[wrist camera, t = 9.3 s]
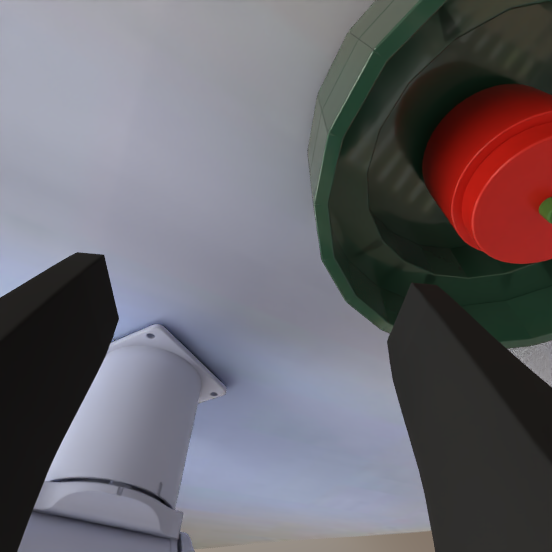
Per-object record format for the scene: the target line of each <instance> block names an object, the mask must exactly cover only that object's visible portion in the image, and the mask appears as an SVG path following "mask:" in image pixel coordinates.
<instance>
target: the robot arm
mask: <svg viewBox="0 0 552 552" xmlns="http://www.w3.org/2000/svg"><path fill="white" fill-rule="evenodd" d="M118 320H119V317H118V313H117V308H116V304H115V300H114V296H113V291H112V287H111V283H110V278H109V274H108V270H107V266H106V261H105V257H104V255H100V254H89V253H78V252H77V253H75V254H73V255H71V256H69V257H68V258H66V259H64V260H62V261H61V262H59V263H57V264H55V265H54V266H52V267H50V268H49V269H47V270H45V271H44V272H42V273H40V274H39V275H37V276H36V277H34V278H32V279H31V280H29V281H27V282H26V283H24V284H22V285H21V286H19V287H17V288H16V289H14V290H12V291H11V292H9V293H7V294H6V295H4V296H2V297H1V298H0V552H195V551H194V549H193V546H192V542H191V539H190V537H189V535H188V534H187V533H184V532H180V528H181V523H182V518H183V512H181V511H177V510H175V507H176V503H177V498H178V494H179V489H180V484H181V480H182V475H183V470H184V466H185V461H186V457H187V452H188V447H189V443H190V438H191V433H192V429H193V424H194V420H195V415H196V410H197V406H198V403H201V402H204V401H208V400H211V399H214V398H217V397H220V396H223V395H225V394H226V391H227V388H226V386H225V385H224V384H223V383H222V382H221V381H220V380H219V379H217V378H216V377H215V376H214V375H213V374H212V373H211V372H210V371H209V370H208V369H207V368H206V367H205V366H204V365H203V364H202V363H201V362H200V361H199V360H198V359H197V358H196V357H195V356H194V355H193V354H192V353H191V352H190V351H189V350H188V349H187V348H185V347H184V346H183V345H182V344H181V343H180V342H179V341H178V340H177V339H176V338H175V337H174V336H173V335H172V334H171V333H170V332H169V331H168V330H167V329H166V328H165V327H164V326H162V325H160V324H154V325H151V326H149V327H147V328H144V329H142V330H140V331H137V332H135V333H133V334H130V335H128V336H125V337H123V338H121V339H118V340H116V341H114V342H111V341H112V338H113V335H114V332H115V329H116V326H117V323H118ZM150 333H151V334H150ZM387 344H388V351H389V359H390V365H391V371H392V378H393V382H394V386H395V389H396V393H397V396H398V400H399V403H400V407H401V411H402V414H403V417H404V421H405V424H406V428H407V431H408V435H409V438H410V441H411V445H412V448H413V452H414V455H415V459H416V462H417V465H418V469H419V473H420V477H421V481H422V485H423V489H424V493H425V498H426V504H427V509H428V514H429V520H430V525H431V530H432V535H433V541H434V547H435V552H552V387H550V386H549V385H548V384H547V383H546V382H544V381H543V380H542V379H541V378H540V377H538V376H537V375H536V374H535V373H534V372H532V371H531V370H530V369H529V368H528V367H527V366H526V365H524V364H523V363H522V362H521V361H520V360H519V359H518V358H516V357H515V356H514V355H513V354H512V353H511V352H510V351H509V350H507V349H506V348H505V347H504V346H503V345H502V344H501V343H500V342H499V341H498V340H497V339H495V338H494V337H493V336H492V335H491V334H490V333H489V332H488V331H487V330H486V329H485V328H484V327H482V326H481V325H480V324H479V323H478V322H477V321H476V320H475V319H474V318H473V317H472V316H471V315H470V314H469V313H468V312H466V311H465V310H464V309H463V308H462V307H461V306H460V305H459V304H458V303H457V302H456V301H455V300H454V299H452V298H451V297H450V296H449V295H448V294H447V293H446V292H445V291H443V290H442V289H441V288H440V287H439V286H437V285H432V284H421V283H411V285H410V287H409V290H408V292H407V294H406V297H405V299H404V302H403V304H402V306H401V309H400V311H399V314H398V316H397V319H396V321H395V323H394V326H393V328H392V331H391V333H390V336H389V338H388V340H387Z"/></svg>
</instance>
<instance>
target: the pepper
mask: <svg viewBox="0 0 552 552" xmlns="http://www.w3.org/2000/svg"><path fill="white" fill-rule="evenodd" d="M422 172H423V179H424V183H425V185H426V187H427V189H428V191H429V193H430V194H431V196H432V197H433V199H434V200H435V201H436V203H437V204H438V206H439V207H440V209H441V210H442V212H443V213H444V215H445V216H446V217H447V219H448V220H449V222H450V223H451V225H452V226H453V228H454V229H455V231H456V232H457V233H458V235H459V236H460V237H461V238H462V240H463V241H464V242H466V243H467V244H468V245H470V246H471V247H473V248H475V249H477V250H480V251H482V252H484V253H486V254H487V255H488V256H490V257H492V258H494V259H497V260H500V261H502V262H507V263H514V264H529V263H537V262H542V261H546V260H550V259H552V95H550V94H548V93H546V92H543V91H541V90H538V89H536V88H533V87H530V86H527V85H522V84H503V85H498V86H493V87H490V88H487V89H484V90H482V91H480V92H477V93H475V94H473V95H472V96H470V97H468V98H466V99H465V100H463V101H462V102H461V103H459V104H458V105H457V106H455V107H454V108H453V109H452V110H451V111H450V112H449V113H448V114H447V115H446V116H445V117H444V118H443V119H442V120H441V122H440V123H439V124H438V126H437V127H436V128H435V130H434V132H433V133H432V135H431V137H430V139H429V141H428V143H427V146H426V149H425V152H424V157H423V164H422Z"/></svg>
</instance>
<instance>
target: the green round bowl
mask: <svg viewBox="0 0 552 552" xmlns="http://www.w3.org/2000/svg"><path fill="white" fill-rule="evenodd" d="M503 84H522V85H527V86H530V87H533V88H536V89H538V90H541V91H543V92H546V93H548V94H550V95H552V0H376V1H375V2H374V3H373V4H372V5H371V7H370V8H369V9H368V10H367V11H366V12H365V13H364V14H363V16H362V17H361V18H360V19H359V20H358V21H357V22H356V23H355V25H354V26H353V27H352V28H351V29H350V31H349V32H348V33H347V35H346V37H345V39H344V41H343V43H342V45H341V47H340V49H339V51H338V54H337V56H336V58H335V60H334V62H333V64H332V66H331V68H330V70H329V72H328V74H327V76H326V78H325V80H324V82H323V84H322V86H321V88H320V90H319V92H318V96H317V99H316V105H315V111H314V116H313V122H312V128H311V133H310V139H309V145H308V150H307V151H308V154H307V155H308V163H309V172H310V181H311V189H312V198H313V206H314V213H315V220H316V227H317V234H318V241H319V248H320V254H321V259H322V262H323V264H324V265H325V267H326V269H327V270H328V272H329V274H330V276H331V277H332V279H333V281H334V283H335V284H336V286H337V288H338V289H339V291H340V293H341V295H342V296H343V298H344V300H345V301H346V302H347V303H348V304H349V305H350V306H352V307H353V308H354V309H355V310H357V311H358V312H359V313H360V314H362V315H363V316H364V317H365V318H367V319H368V320H369V321H371V322H372V323H373V324H374V325H376V326H377V327H378V328H379V329H381V330H382V331H385V332H388V333H391V331H392V328H393V326H394V323H395V321H396V319H397V316H398V314H399V311H400V309H401V306H402V304H403V302H404V299H405V297H406V294H407V292H408V290H409V287H410V285H411V283H421V284H432V285H437V286H439V287H440V288H441V289H442V290H443V291H445V292H446V293H447V294H448V295H449V296H450V297H451V298H452V299H454V300H455V301H456V302H457V303H458V304H459V305H460V306H461V307H462V308H463V309H464V310H465V311H466V312H468V313H469V314H470V315H471V316H472V317H473V318H474V319H475V320H476V321H477V322H478V323H479V324H480V325H481V326H482V327H484V328H485V329H486V330H487V331H488V332H489V333H490V334H491V335H492V336H493V337H494V338H495V339H497V340H498V341H499V342H500V343H501V344H502V345H503V346H504V347H505V348H506V349H508V348H518V347H528V346H531V345H532V346H533V345H537V344H540V343H544V342H548V341H551V340H552V259H550V260H546V261H542V262H537V263H529V264H514V263H507V262H502V261H500V260H497V259H494V258H492V257H490V256H488V255H487V254H486V253H484V252H482V251H480V250H477V249H475V248H473V247H471V246H470V245H468V244H467V243H466V242H464V241H463V240H462V238H461V237H460V236H459V235H458V233H457V232H456V231H455V229H454V228H453V226H452V225H451V223H450V222H449V220H448V219H447V217H446V216H445V215H444V213H443V212H442V210H441V209H440V207H439V206H438V204H437V203H436V201H435V200H434V199H433V197H432V196H431V194H430V193H429V191H428V189H427V187H426V185H425V183H424V179H423V172H422V164H423V157H424V152H425V149H426V146H427V143H428V141H429V139H430V137H431V135H432V133H433V132H434V130H435V128H436V127H437V126H438V124H439V123H440V122H441V120H442V119H443V118H444V117H445V116H446V115H447V114H448V113H449V112H450V111H451V110H452V109H453V108H454V107H455V106H457V105H458V104H459V103H461V102H462V101H463V100H465V99H466V98H468V97H470V96H472V95H473V94H475V93H477V92H480V91H482V90H484V89H487V88H490V87H493V86H498V85H503Z"/></svg>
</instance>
